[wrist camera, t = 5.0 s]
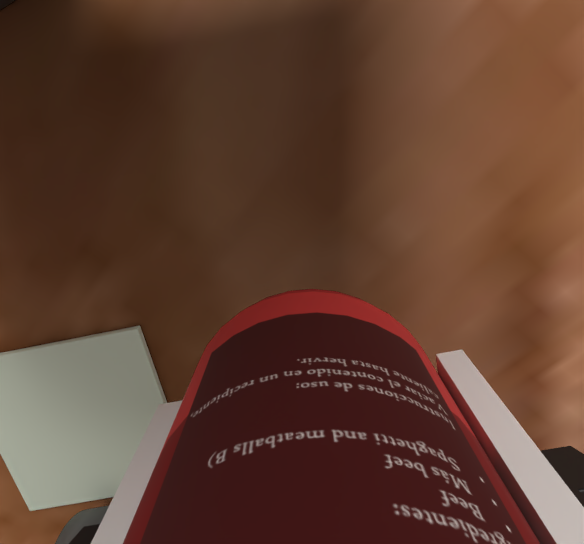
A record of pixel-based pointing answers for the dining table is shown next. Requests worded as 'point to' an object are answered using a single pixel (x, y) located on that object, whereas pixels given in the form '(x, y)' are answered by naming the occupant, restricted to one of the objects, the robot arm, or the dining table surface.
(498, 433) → the robot arm
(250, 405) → the canned food
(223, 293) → the dining table surface
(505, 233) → the dining table surface
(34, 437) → the mat
